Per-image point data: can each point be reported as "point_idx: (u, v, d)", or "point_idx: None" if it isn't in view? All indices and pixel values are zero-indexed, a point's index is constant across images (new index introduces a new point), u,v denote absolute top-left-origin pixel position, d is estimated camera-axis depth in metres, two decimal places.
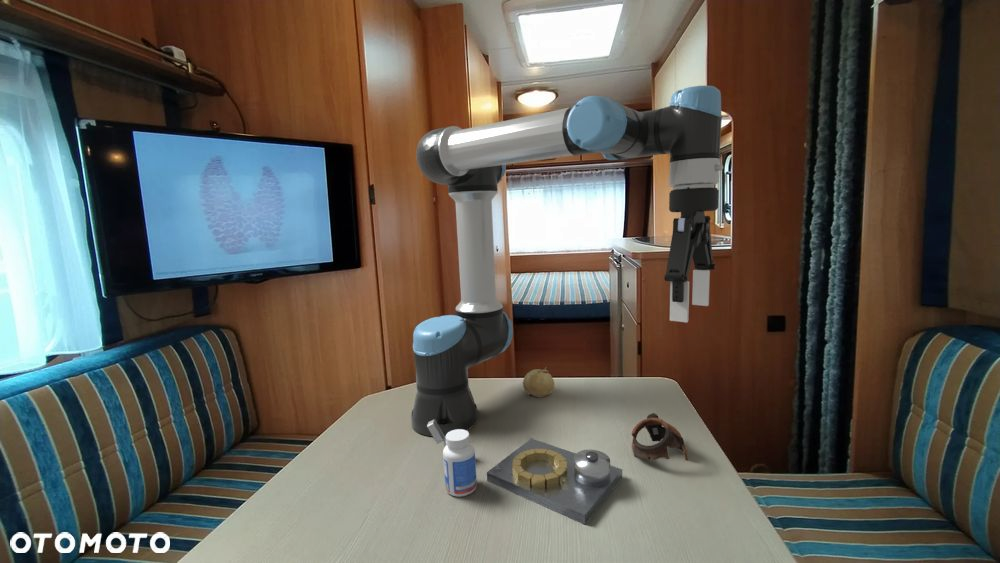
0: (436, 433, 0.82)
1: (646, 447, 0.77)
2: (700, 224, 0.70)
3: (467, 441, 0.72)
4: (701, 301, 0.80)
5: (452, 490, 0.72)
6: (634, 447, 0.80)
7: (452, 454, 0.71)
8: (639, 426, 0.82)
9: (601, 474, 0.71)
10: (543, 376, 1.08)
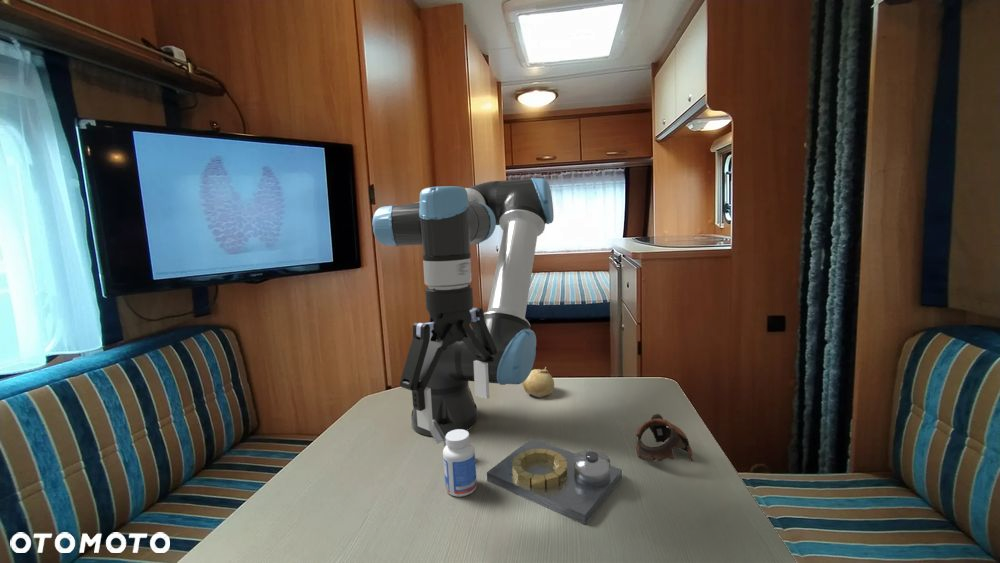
0: (436, 433, 0.82)
1: (651, 448, 0.77)
2: (450, 325, 0.67)
3: (467, 441, 0.72)
4: (481, 393, 0.77)
5: (452, 490, 0.72)
6: (639, 448, 0.80)
7: (452, 454, 0.71)
8: (644, 427, 0.82)
9: (601, 474, 0.71)
10: (543, 376, 1.08)
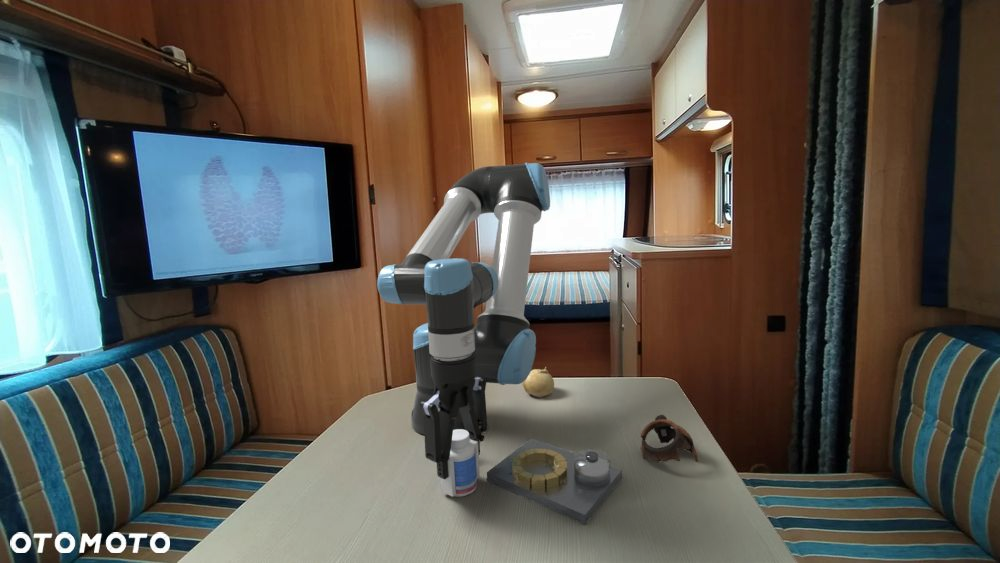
0: None
1: (656, 449, 0.76)
2: (454, 395, 0.69)
3: (467, 441, 0.72)
4: None
5: None
6: (643, 449, 0.79)
7: (452, 453, 0.71)
8: (648, 428, 0.81)
9: (601, 474, 0.71)
10: (543, 376, 1.08)
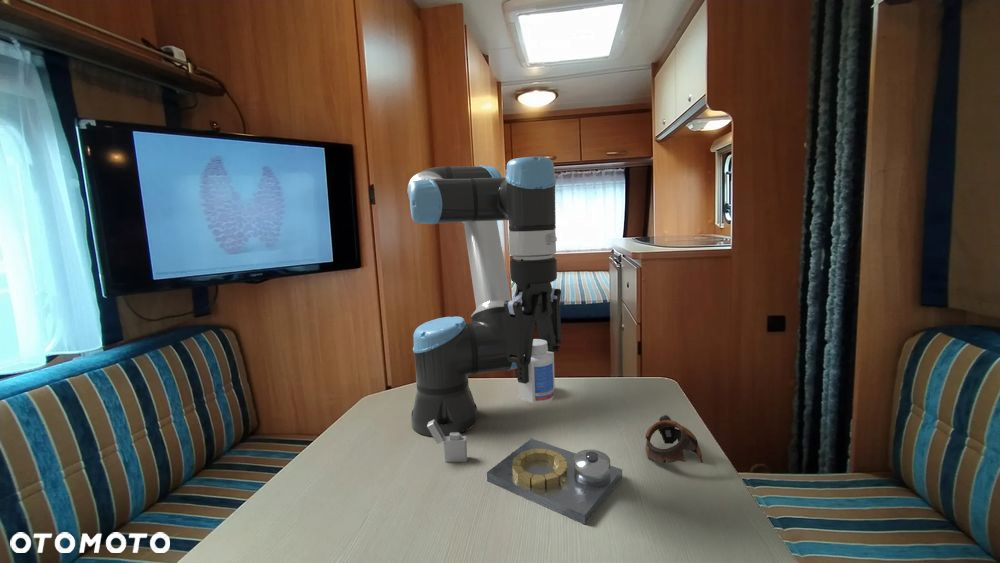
0: (436, 433, 0.82)
1: (662, 450, 0.76)
2: (536, 297, 0.68)
3: (546, 347, 0.71)
4: None
5: None
6: (648, 450, 0.79)
7: (532, 359, 0.70)
8: (653, 429, 0.81)
9: (601, 474, 0.71)
10: None
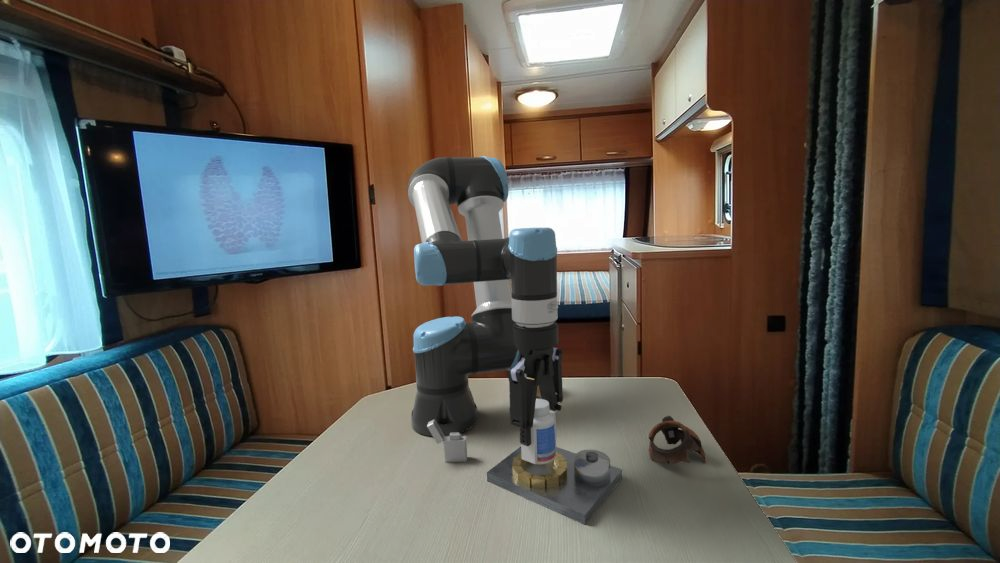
0: (436, 433, 0.82)
1: (665, 451, 0.76)
2: (538, 363, 0.70)
3: (548, 409, 0.73)
4: None
5: None
6: (652, 451, 0.79)
7: (534, 421, 0.72)
8: (656, 429, 0.80)
9: (601, 474, 0.71)
10: None
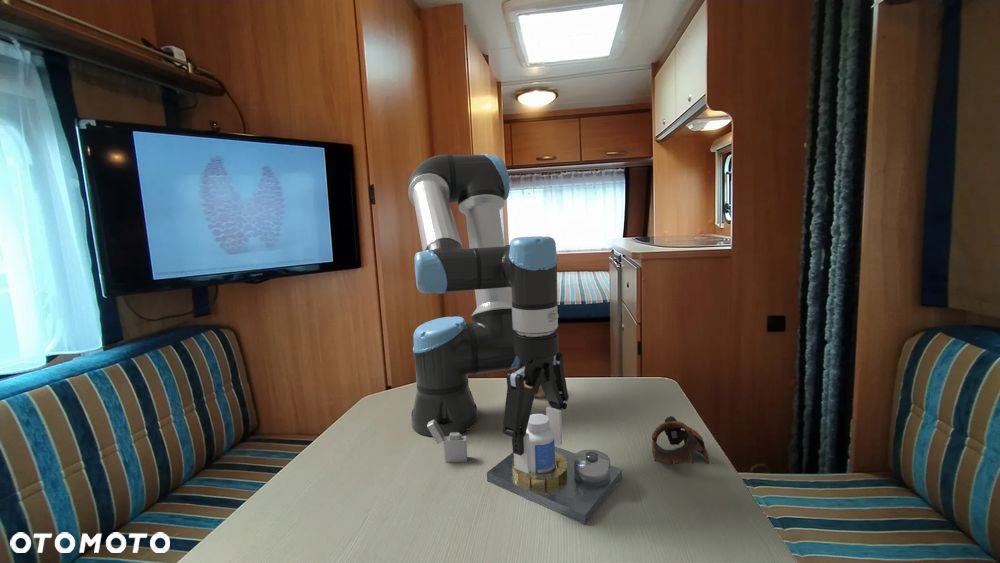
0: (436, 433, 0.81)
1: (669, 451, 0.75)
2: (538, 370, 0.70)
3: (548, 425, 0.73)
4: (554, 439, 0.78)
5: (533, 473, 0.73)
6: (655, 452, 0.78)
7: (534, 437, 0.72)
8: (659, 430, 0.80)
9: (601, 474, 0.71)
10: None
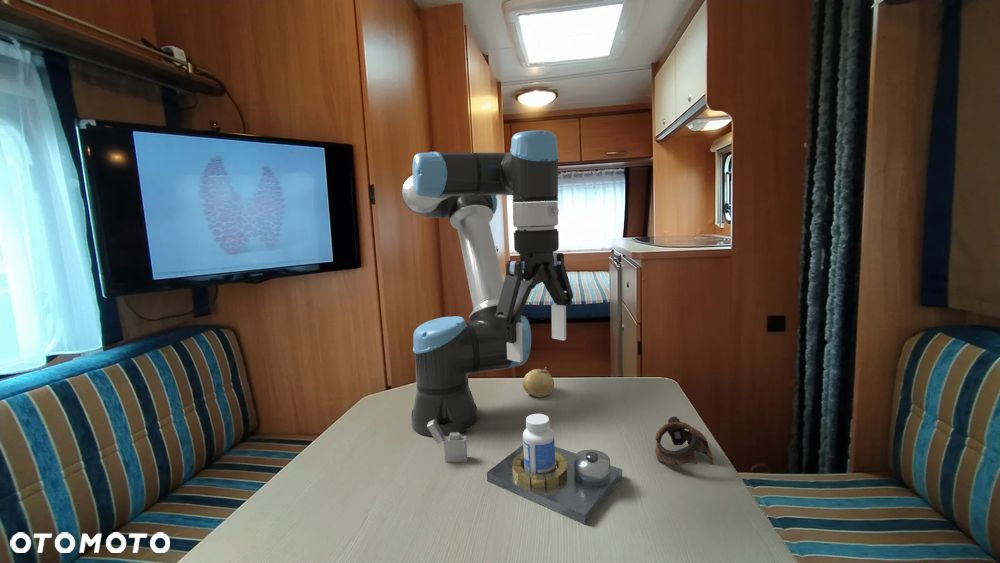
0: (436, 433, 0.82)
1: (673, 452, 0.75)
2: (538, 265, 0.71)
3: (548, 425, 0.73)
4: (559, 335, 0.81)
5: (533, 473, 0.73)
6: (659, 452, 0.78)
7: (534, 437, 0.72)
8: (663, 430, 0.80)
9: (601, 474, 0.71)
10: (543, 376, 1.08)
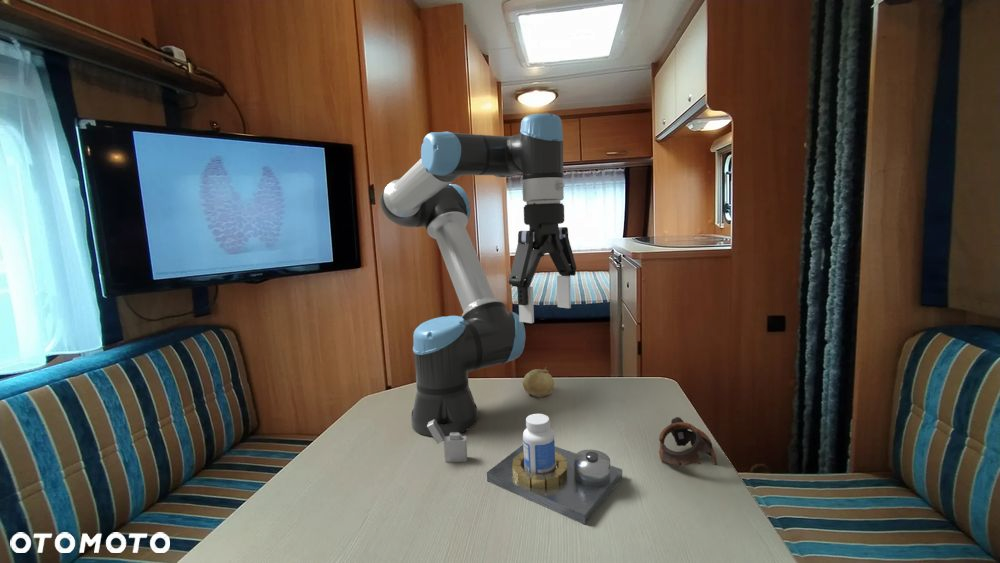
0: (436, 433, 0.81)
1: (677, 453, 0.75)
2: (547, 235, 0.79)
3: (548, 425, 0.73)
4: (564, 303, 0.88)
5: (533, 473, 0.73)
6: (663, 453, 0.78)
7: (534, 437, 0.72)
8: (666, 431, 0.80)
9: (601, 474, 0.71)
10: (543, 376, 1.08)
